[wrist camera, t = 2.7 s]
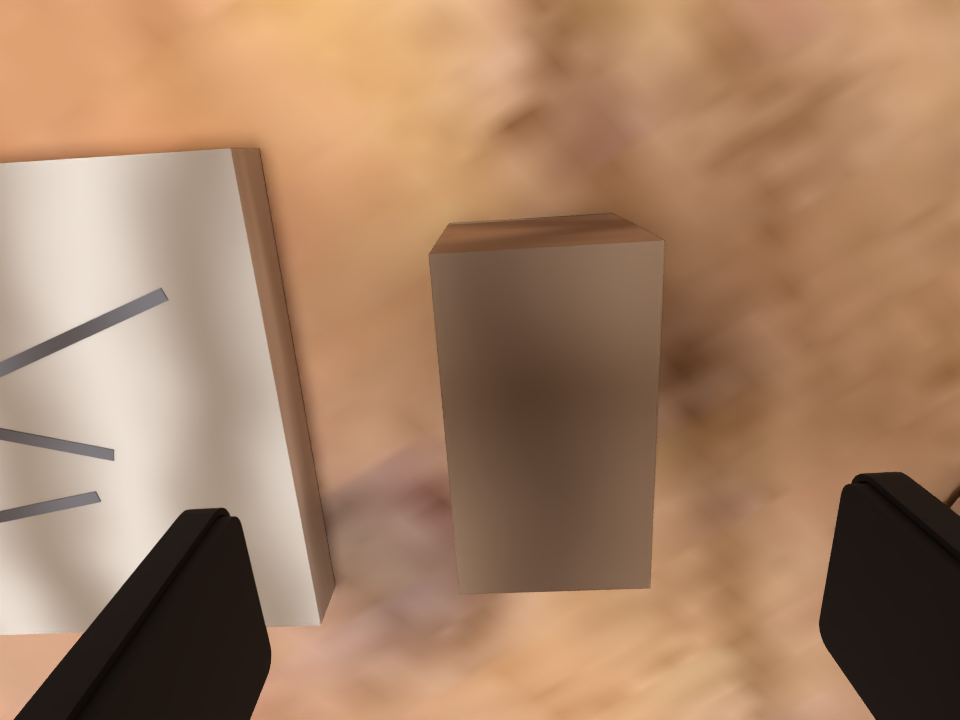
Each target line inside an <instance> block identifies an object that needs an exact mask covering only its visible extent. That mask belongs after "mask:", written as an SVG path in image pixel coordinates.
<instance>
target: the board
mask: <svg viewBox="0 0 960 720" xmlns="http://www.w3.org/2000/svg"><path fill="white" fill-rule="evenodd" d="M222 507H223V508H225V509H227V511H228V512H229V513H230V516H236V517H238V518H239V519H240V521H241V524H242V528H243V532H244V536H245V541H246V545H247V549H248V553H249V557H250V562H251V566H252V570H253V574H254V579H255V583H256V587H257V591H258V596H259V600H260V604H261V608H262V613H263V617H264V621H265V625H266V627H284V626H318V625H321V623H322V621H323V618H324V615H325V612H326V610H327V607H328V604H329V602H330V599H331V596H332V594H333V591H334V588H335V583H334V577H333V571H332V565H331V560H330V554H329V548H328V542H327V537H326V531H325V525H324V519H323V514H322V508H321V502H320V496H319V491H318V485H317V479H316V473H315V468H314V462H313V456H312V451H311V445H310V439H309V433H308V428H307V422H306V416H305V410H304V405H303V399H302V393H301V387H300V382H299V376H298V370H297V364H296V359H295V353H294V347H293V341H292V336H291V330H290V324H289V319H288V313H287V307H286V301H285V296H284V290H283V284H282V278H281V273H280V267H279V261H278V255H277V250H276V244H275V238H274V232H273V227H272V221H271V215H270V209H269V204H268V198H267V192H266V187H265V181H264V175H263V169H262V164H261V158H260V152H259V149H243V148H227V149H212V150H197V151H182V152H167V153H151V154H136V155H121V156H106V157H90V158H75V159H60V160H45V161H29V162H14V163H0V635H16V634H49V633H83V632H85V631H86V630H87V629H88V627H89V626H90V625H91V624H92V622H93V621H94V620H95V619H96V617H97V616H98V615H99V614H100V613H101V611H102V610H103V609H104V608H105V606H106V605H107V604H108V603H109V601H110V600H111V599H112V598H113V597H114V595H115V594H116V593H117V592H118V590H119V589H120V588H121V587H122V585H123V584H124V583H125V582H126V581H127V579H128V578H129V577H130V576H131V574H132V573H133V572H134V571H135V569H136V568H137V567H138V566H139V564H140V563H141V562H142V561H143V560H144V558H145V557H146V556H147V555H148V553H149V552H150V551H151V550H152V548H153V547H154V546H155V545H156V544H157V542H158V541H159V540H160V539H161V537H162V536H163V535H164V534H165V532H166V531H167V530H168V529H169V528H170V526H171V525H172V524H173V523H174V521H175V520H176V519H177V518H178V516H179V515H180V514H181V513H182V512H183V511H185V510H188V509H203V508H222Z"/></svg>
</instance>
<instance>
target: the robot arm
mask: <svg viewBox="0 0 960 720" xmlns="http://www.w3.org/2000/svg"><path fill="white" fill-rule="evenodd" d="M819 628H820V633H821V637H822V640H823V642H824V644H825V646H826V648H827V650H828V651H829V652H830V654H831V655H832V657H833V658H834V660H835V661H836V663H837V664H838V665H839V667H840V668H841V670H842V671H843V673H844V674H845V676H846V677H847V678H848V680H849V681H850V683H851V684H852V686H853V687H854V689H855V690H856V691H857V693H858V694H859V696H860V697H861V699H862V700H863V702H864V703H865V704H866V706H867V707H868V709H869V710H870V712H871V713H872V715H873V716H874V718H875V719H876V720H960V496H959V497H958V499H957V500H956V501H955V503H954V504H953V505H952V506H951V508H949V507H948V506H946V505H945V504H944V503H942V502H941V501H940V500H938V499H937V498H936V497H935V496H933V495H932V494H931V493H929V492H928V491H927V490H925V489H924V488H923V487H922V486H920V485H919V484H918V483H916V482H915V481H914V480H912V479H911V478H910V477H909V476H907V475H905V474H903V473H902V472H884V473H865V474H859V475H857V476H855V478H854V479H853V480H852V483H851V484H848V485H845V487H844V488H843V490H842V493H841V498H840V504H839V510H838V516H837V521H836V527H835V533H834V539H833V544H832V550H831V556H830V562H829V567H828V573H827V579H826V585H825V590H824V596H823V602H822V608H821V613H820V619H819ZM270 664H271V647H270V642H269V638H268V634H267V629H266V625H265V621H264V617H263V613H262V608H261V604H260V600H259V596H258V591H257V587H256V583H255V579H254V574H253V570H252V566H251V562H250V557H249V553H248V549H247V545H246V541H245V536H244V532H243V528H242V524H241V521H240V519H239V518H238V517H236V516H230V513H229V512H228V511H227V509H225V508H223V507H222V508H203V509H188V510H185V511H183V512H182V513H181V514H180V515H179V516H178V518H177V519H176V520H175V521H174V523H173V524H172V525H171V526H170V528H169V529H168V530H167V531H166V532H165V534H164V535H163V536H162V537H161V539H160V540H159V541H158V542H157V544H156V545H155V546H154V547H153V548H152V550H151V551H150V552H149V553H148V555H147V556H146V557H145V558H144V560H143V561H142V562H141V563H140V564H139V566H138V567H137V568H136V569H135V571H134V572H133V573H132V574H131V576H130V577H129V578H128V579H127V581H126V582H125V583H124V584H123V585H122V587H121V588H120V589H119V590H118V592H117V593H116V594H115V595H114V597H113V598H112V599H111V600H110V601H109V603H108V604H107V605H106V606H105V608H104V609H103V610H102V611H101V613H100V614H99V615H98V616H97V617H96V619H95V620H94V621H93V622H92V624H91V625H90V626H89V627H88V629H87V630H86V631H85V632H84V634H83V635H82V636H81V637H80V638H79V640H78V641H77V642H76V643H75V645H74V646H73V647H72V648H71V650H70V651H69V652H68V653H67V654H66V656H65V657H64V658H63V659H62V661H61V662H60V663H59V664H58V666H57V667H56V668H55V669H54V670H53V672H52V673H51V674H50V675H49V677H48V678H47V679H46V680H45V682H44V683H43V684H42V685H41V686H40V688H39V689H38V690H37V691H36V693H35V694H34V695H33V696H32V698H31V699H30V700H29V701H28V703H27V704H26V705H25V706H24V707H23V709H22V710H21V711H20V712H19V714H18V715H17V716H16V717H15V719H14V720H250V718H251V716H252V713H253V711H254V708H255V706H256V703H257V701H258V698H259V696H260V693H261V691H262V688H263V686H264V683H265V681H266V678H267V676H268V673H269V669H270Z"/></svg>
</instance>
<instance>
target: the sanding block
mask: <svg viewBox="0 0 960 720" xmlns="http://www.w3.org/2000/svg"><path fill="white" fill-rule="evenodd" d="M664 246H665V240H663V239H661V238H659V237H657V236H655V235H653V234H651V233H649V232H648V231H646V230H644V229H642V228H640V227H638V226H636V225H634V224H632V223H630V222H628V221H626V220H625V219H623V218H621V217H619V216H617V215H615V214H613V213H609V214H592V215H576V216H559V217H543V218H526V219H510V220H493V221H477V222H460V223H449V224H448V226H447V227H446V229H445V230H444V232H443V233H442V235H441V236H440V238H439V239H438V241H437V242H436V244H435V245H434V247H433V248H432V250H431V251H430V253H429V263H430V274H431V285H432V296H433V307H434V318H435V329H436V340H437V352H438V363H439V374H440V385H441V396H442V407H443V418H444V429H445V440H446V451H447V462H448V473H449V484H450V495H451V506H452V517H453V528H454V539H455V551H456V562H457V573H458V584H459V594H487V593H518V592H549V591H581V590H612V589H643V588H650V583H651V559H652V535H653V510H654V486H655V462H656V438H657V414H658V390H659V366H660V342H661V318H662V294H663V270H664Z"/></svg>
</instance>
